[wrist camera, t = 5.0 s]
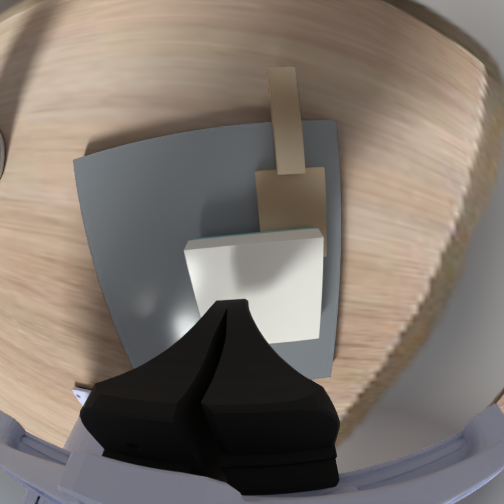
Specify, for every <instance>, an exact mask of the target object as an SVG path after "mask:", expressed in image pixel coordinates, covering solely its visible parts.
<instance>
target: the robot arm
mask: <svg viewBox="0 0 504 504" xmlns="http://www.w3.org/2000/svg"><path fill="white" fill-rule="evenodd" d="M72 391H73V393H74V394H75V396H76V397H77V399H78V400H79V401H80V403H81V404H82V406H83V407H82V409H81V411H80V416H79V417H78V419H77V421H76V423H75V425H74V427H73V429H72V431H71V433H70V435H69V437H68V439H67V441H66V443H65V445H64V447H63V449H62V448H60V447H58V446H55V445H53V444H51V443H49V442H46V441H44V440H42V439H40V438H38V437H36V436H34V435H32V434H30V433H28V432H26V431H25V429H24V428H23V427H22V426H21V425H20V424H19V423H18V422H17V421H16V420H15V419H14V418H13V417H11V416H9V415H8V414H6V413H4V412H2V411H0V468H1V469H2V470H4V471H5V472H6V473H7V474H9V475H10V476H11V477H12V478H14V479H15V480H16V481H18V482H19V483H21V484H22V485H23V486H25V487H26V490H25V493H24V496H23V499H22V504H454V503H456V502H458V501H459V500H461V499H462V498H464V497H466V496H468V495H469V494H471V493H472V492H474V491H475V490H477V489H478V488H480V487H481V486H483V485H484V484H486V483H487V482H488V481H490V480H491V479H492V478H494V476H496V475H497V474H498V473H500V472H501V471H502V470H503V469H504V414H503V413H502V411H501V410H500V408H499V407H498V405H497V404H493V405H492V406H490V407H489V408H487V409H485V410H483V411H482V412H480V413H478V414H477V415H475V416H474V417H472V418H471V419H470V420H469V421H468V422H467V423H466V425H465V426H464V428H463V429H462V431H461V432H459V433H457V434H455V435H453V436H451V437H449V438H447V439H445V440H443V441H440V442H438V443H436V444H434V445H431V446H429V447H426V448H424V449H422V450H419V451H416V452H414V453H411V454H408V455H406V456H403V457H400V458H397V459H394V460H391V461H388V462H384V463H381V464H378V465H374V466H371V467H367V468H363V469H359V470H355V471H351V472H346V473H341V474H338V470H337V464H336V459H335V458H336V457H337V453H336V449H335V442H336V438H337V435H338V432H339V428H340V421H339V417H338V414H337V412H336V410H335V407H334V405H333V403H332V401H331V400H330V398H329V396H328V394H327V393H326V391H325V390H324V388H323V387H322V386H320V385H319V384H317V383H315V382H313V381H312V380H310V379H308V378H306V377H305V376H303V375H302V374H301V373H299V372H298V371H297V370H295V369H294V368H293V367H292V366H290V365H289V364H288V363H287V362H286V361H285V360H284V359H282V358H281V357H280V356H279V355H278V354H277V352H276V351H275V350H274V349H273V348H272V347H271V346H270V345H269V343H268V342H267V341H266V339H265V338H264V337H263V335H262V333H261V332H260V330H259V329H258V327H257V325H256V323H255V321H254V320H253V317H252V315H251V313H250V310H249V303H248V300H246V299H232V300H216V301H215V302H214V304H213V305H212V306H211V307H210V308H209V309H208V310H207V312H206V313H205V314H204V315H203V316H202V317H201V318H200V319H199V321H198V322H197V323H196V324H195V325H194V326H193V327H192V328H191V329H190V330H189V331H188V332H187V333H186V334H185V335H184V336H183V337H182V338H180V339H179V340H178V341H177V342H176V343H174V344H173V345H172V346H170V347H169V348H168V349H167V350H165V351H164V352H162V353H161V354H159V355H158V356H156V357H154V358H153V359H151V360H149V361H148V362H146V363H144V364H143V365H141V366H139V367H137V368H135V369H133V370H131V371H128V372H126V373H124V374H121V375H119V376H116V377H113V378H111V379H108V380H105V381H102V382H99V383H96V384H95V385H94V387H93V389H92V390H87V389H82V388H78V387H74V388H73V389H72Z"/></svg>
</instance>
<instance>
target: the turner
mask: <svg viewBox="0 0 504 504" xmlns="http://www.w3.org/2000/svg"><path fill="white" fill-rule="evenodd" d="M267 80H268V89H269V98H270V107H271V117H272V128H273V138H274V149H275V161H276V169H272V170H259V171H255V178H256V189H257V200H258V211H259V222H260V232H265V231H276V230H288V229H299V228H311V227H315V229H316V228H319V230H320V232H321V234H322V235H323V237H324V241H323V257H327V226H326V190H325V169H324V167H305V158H304V146H303V134H302V123H301V113H300V103H299V94H298V86H297V78H296V70H295V66H285V67H268V69H267Z"/></svg>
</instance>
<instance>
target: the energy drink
mask: <svg viewBox="0 0 504 504" xmlns="http://www.w3.org/2000/svg"><path fill="white" fill-rule="evenodd" d="M4 162H5V145H4V140H3V137H2V134H1V133H0V178H1V175H2V172H3V168H4Z"/></svg>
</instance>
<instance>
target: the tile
mask: <svg viewBox="0 0 504 504" xmlns="http://www.w3.org/2000/svg"><path fill="white" fill-rule="evenodd" d="M323 241H324V237H323V235H322V234H321V232H320V230H319V228H316V229H315V227H311V228H299V229H288V230H276V231H265V232H255V233H244V234H234V235H224V236H214V237H204V238H194V239H192V240H189V241H188V242H187V245H186V247H185V249H184V253H185V258H186V262H187V266H188V270H189V274H190V278H191V282H192V286H193V290H194V294H195V297H196V301H197V305H198V309H199V312H200V316H201V317H202V316H203V315H204V314H205V313H206V312H207V310H208V309H209V308H210V307H211V306H212V305H213V304H214V302H215V301H216V300H232V299H246V300H248V303H249V310H250V313H251V315H252V317H253V320H254V321H255V323H256V325H257V327H258V329H259V330H260V332H261V333H262V335H263V337H264V338H265V339H266V341H267V342H268V343H269V344H271V343H282V342H292V341H301V340H309V339H317V338H319V330H320V316H321V300H322V279H323Z"/></svg>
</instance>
